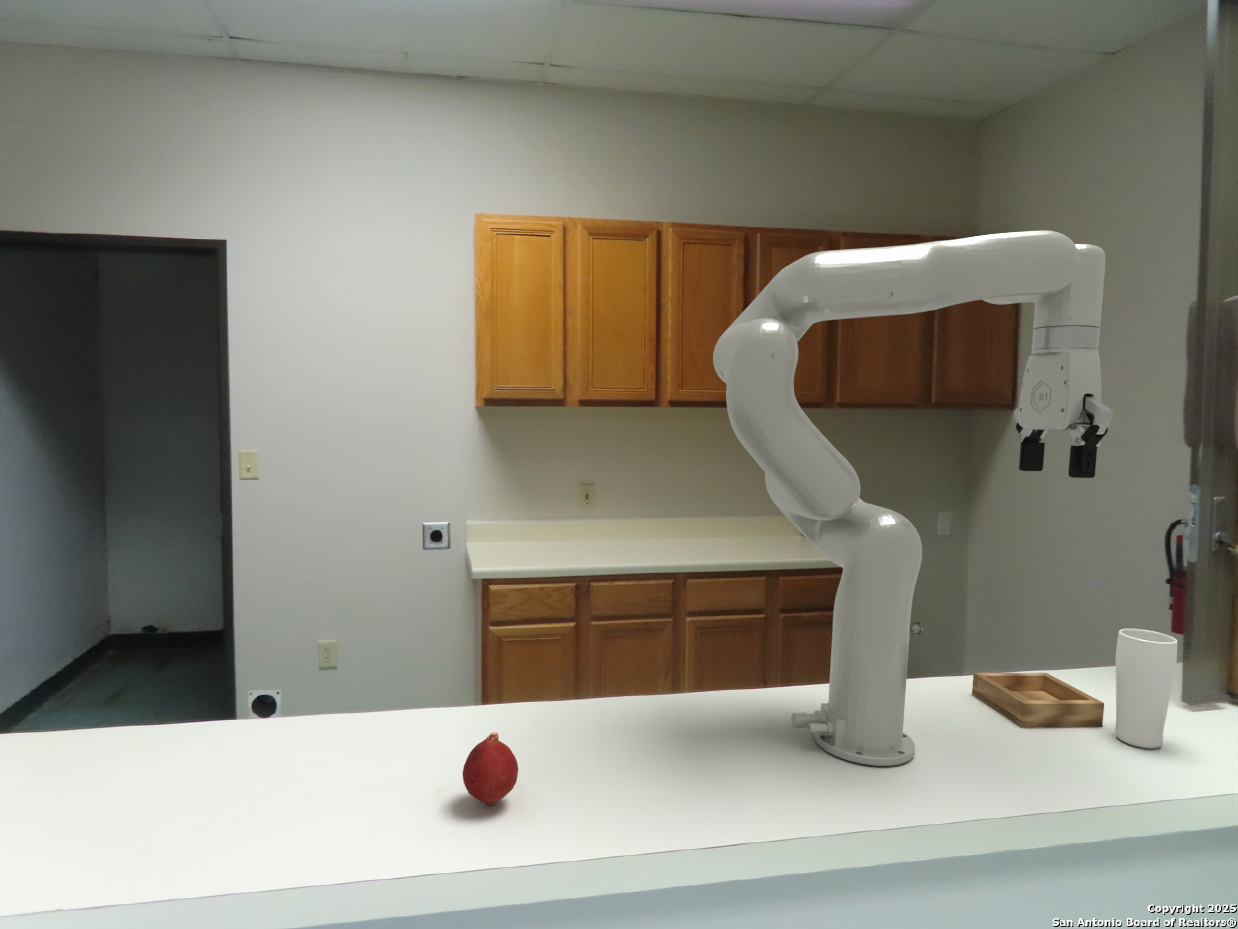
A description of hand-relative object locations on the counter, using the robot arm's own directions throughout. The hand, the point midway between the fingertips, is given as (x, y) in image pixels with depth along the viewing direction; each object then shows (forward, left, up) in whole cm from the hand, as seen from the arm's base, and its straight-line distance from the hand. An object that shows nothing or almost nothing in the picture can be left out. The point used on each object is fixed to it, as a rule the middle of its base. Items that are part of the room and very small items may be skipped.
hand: (1054, 474), depth 99 cm
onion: (-72, -13, -37) cm, 82 cm away
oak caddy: (+8, +11, -37) cm, 39 cm away
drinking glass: (+15, 0, -37) cm, 40 cm away
